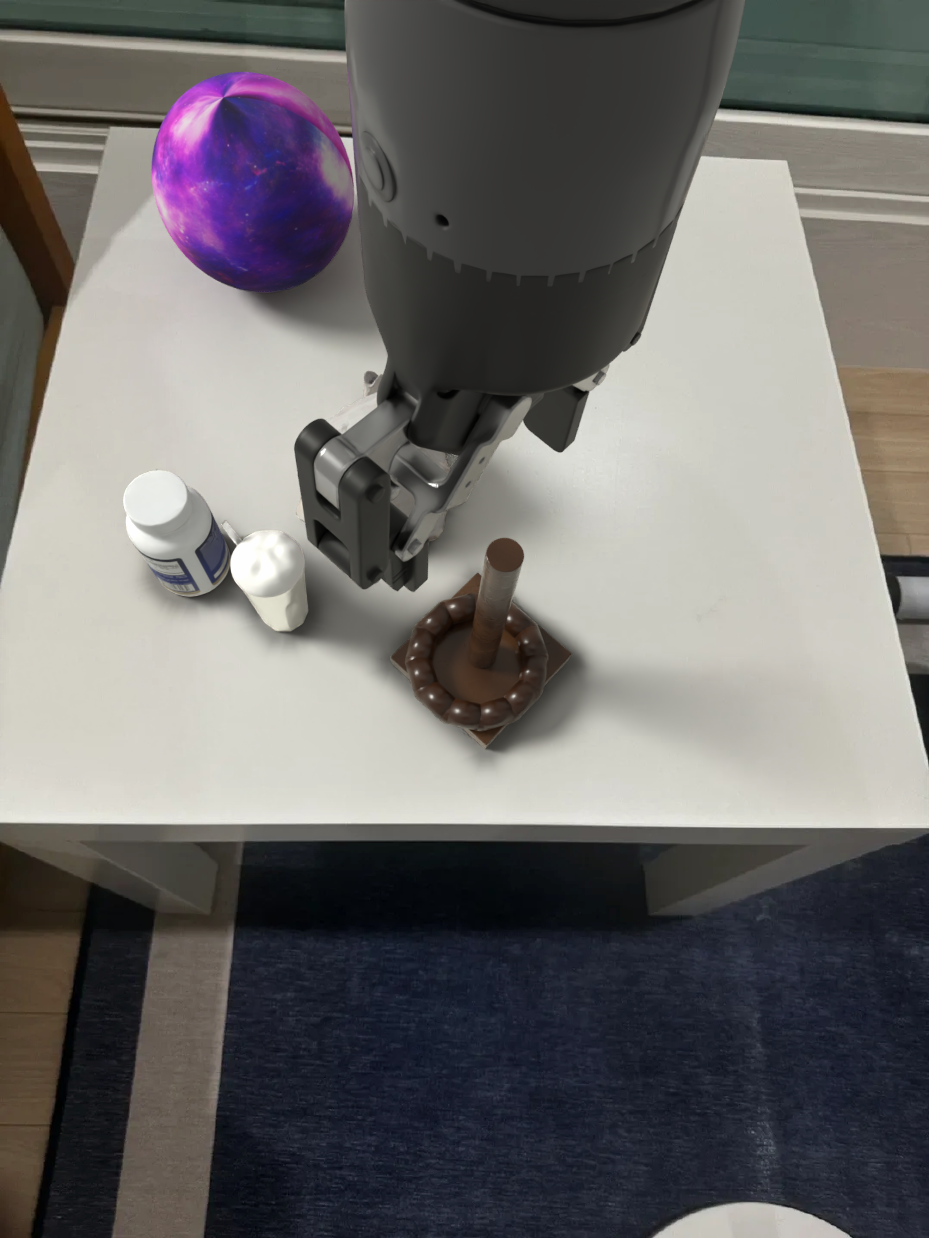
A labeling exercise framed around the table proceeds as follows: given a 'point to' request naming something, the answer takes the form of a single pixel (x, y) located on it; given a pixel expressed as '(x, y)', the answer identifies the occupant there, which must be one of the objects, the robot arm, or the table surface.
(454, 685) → the stand
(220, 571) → the pill bottle
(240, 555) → the milkshake
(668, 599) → the table surface
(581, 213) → the robot arm
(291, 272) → the decorative orb
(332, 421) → the seashell
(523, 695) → the ring
